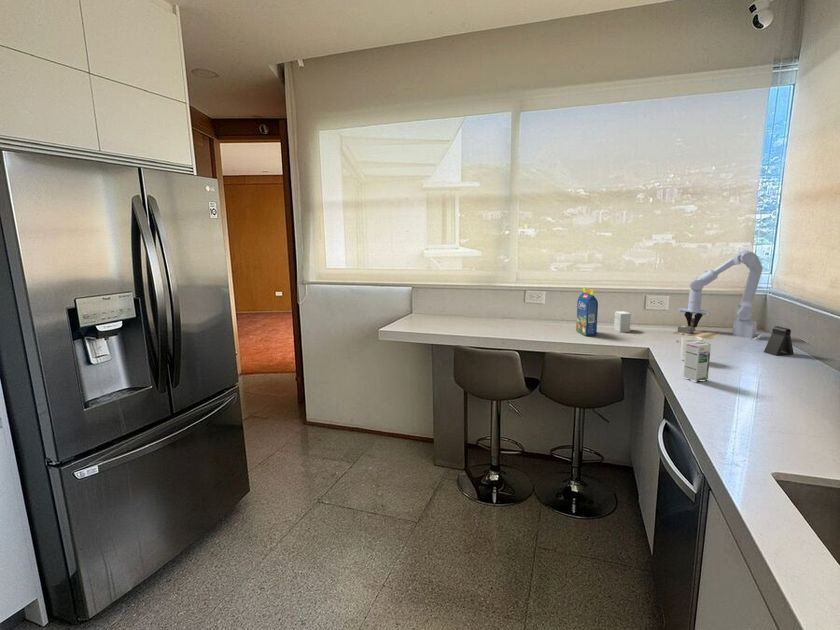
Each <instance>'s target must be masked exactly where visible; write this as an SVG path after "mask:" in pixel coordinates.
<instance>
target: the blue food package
mask: <svg viewBox="0 0 840 630" xmlns="http://www.w3.org/2000/svg"><path fill="white" fill-rule="evenodd" d="M597 299H598V298H596V296H595V295H594V290H593V289H591V288H587V287H583V288H582V292H581V293H580V295H579V296H578V297H577V303H576V304H577V305H576V324H575V325H576V327H575V329H576V330H575V331H576V332H577V333H578V334H581V335H583V336H586V337H592V336H593V337H594V336H595V337H596V336H597V331H598V329H597V328H598V311H599V303H598V300H597Z"/></svg>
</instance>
